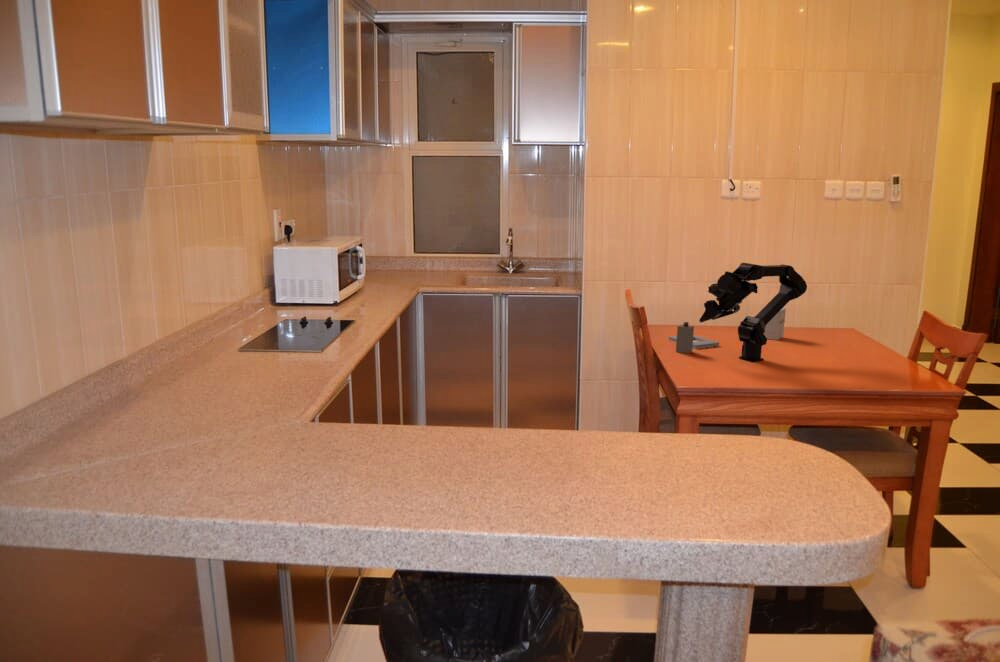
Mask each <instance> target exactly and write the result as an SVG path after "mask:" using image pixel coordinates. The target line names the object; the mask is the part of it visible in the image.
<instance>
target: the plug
mask: <svg viewBox="0 0 1000 662" xmlns="http://www.w3.org/2000/svg"><path fill="white" fill-rule="evenodd" d="M689 323H690V322H689V321H683V324H680V325H677V329H676V336H677V342H676V343H675V344H676V345H675V353H679V354H684V355H687V354H690V353H693V348H692V347H693V335H695V334H694V332H695V331H694V329H695V326H693V325H690V324H689Z"/></svg>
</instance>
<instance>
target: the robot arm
mask: <svg viewBox="0 0 1000 662" xmlns="http://www.w3.org/2000/svg"><path fill="white" fill-rule="evenodd" d="M764 277H767V278H769V277H778V280H779V283H780V286H779V291H778V293H777V294H776V295H775V296H773V298H772V299H771V300H770V301H769V302H767V304H766V305H765V306H764V307H763V308H762V309H761V310H760V311H759V312H758V313H757V314H756V315H755V316H749V315H747V316H745V318H744V319H743V320H742V321H740V324H739V325H738V327H737V335H738V339H739V342H743V343H742V345H741V355H740V356H738V358H739V359H741V360H745V361H747V362H759V361H764V360H765V358H763V357H762V350H763V349H762V348H763V346H765V345H766V344H767V343H768V339H767V338H766V337H765V335H764V332H765V326H766V325H767V323H768V322H769V321H770V320H771V319H772V318H773V317H774V316H775V315H776V314H777V313H778V312H779V311H780V310H781V309H782V308H785V306H786V305H787V304H789V302H790V301H793V300H795V299H798V298H800V297H801V296H802V295H804V294H805V293H806V291H807V289H808V285H807V282H806V280H805V279H804V278H803V276H802V275H801V274H799V273H798V272H797V271H796V270H795V268H794V266H792V265H790V264H783V263H782V264H778V265H777V264H775V265H774V264H771V265H770V264H769V265H760V264H754V263H747V262H741V263H740V264H739V266H738V267H736V269H734V271H732V272H731V271H727V270H726V271H725V272H724V274H722V275H721V276H719V278H718V279H717V283H715V282H714V283H712V284H710V285H709V286H707V287H708V288H707V289H708V290H707V292H708V293H709V294H712V295H713V296H715V297H716V298H715V300H713V299H709V300H706V301H705V302H704V303H703V306H704V308H705V309H704V312H703V313H702V314H701V317H700V318H699V323H704V322H707V321H710V320H712V321H714V320H717V319H720V318H724V317H727V316H730V315H734V314H736V313H738V312H739V311H741V306H740V305H741V304H742V303H743V300H745V299H746V298H747V297H749V296H750V295H751V294H752V293H754V294H758V285H757V283H756V282H755V281H758V280H759V281H760V280H761V279H762V278H764ZM751 281H754V282H751Z"/></svg>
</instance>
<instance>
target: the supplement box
mask: <svg viewBox="0 0 1000 662" xmlns="http://www.w3.org/2000/svg"><path fill="white" fill-rule="evenodd" d="M786 310H787V308H786V307H783V308H782V309H781V310H780V311H779V312H778V313H777V314H776V315H775V316H774V317H773V318H772V319H771V320H770V321H769V322H768V323H767V325H766V326H765V332H764V335H765V337H766V338H767V340H772V339H774V341H779V340H781V339H783V338H784V331H785V323H786V322H785V321H786V313H787V312H786ZM782 337H783V338H782Z"/></svg>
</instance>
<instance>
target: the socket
mask: <svg viewBox="0 0 1000 662" xmlns="http://www.w3.org/2000/svg"><path fill="white" fill-rule="evenodd" d="M668 341H670V342H673V343H675V344H676V342H677V335H673V336H668ZM714 346H716V347H720V342H718V341H716V340H712V339H709V338H705V337H702V336H699V335H695V334H693V347H692V349H695V350H697V349H706V347H708V348H715V347H714Z"/></svg>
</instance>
